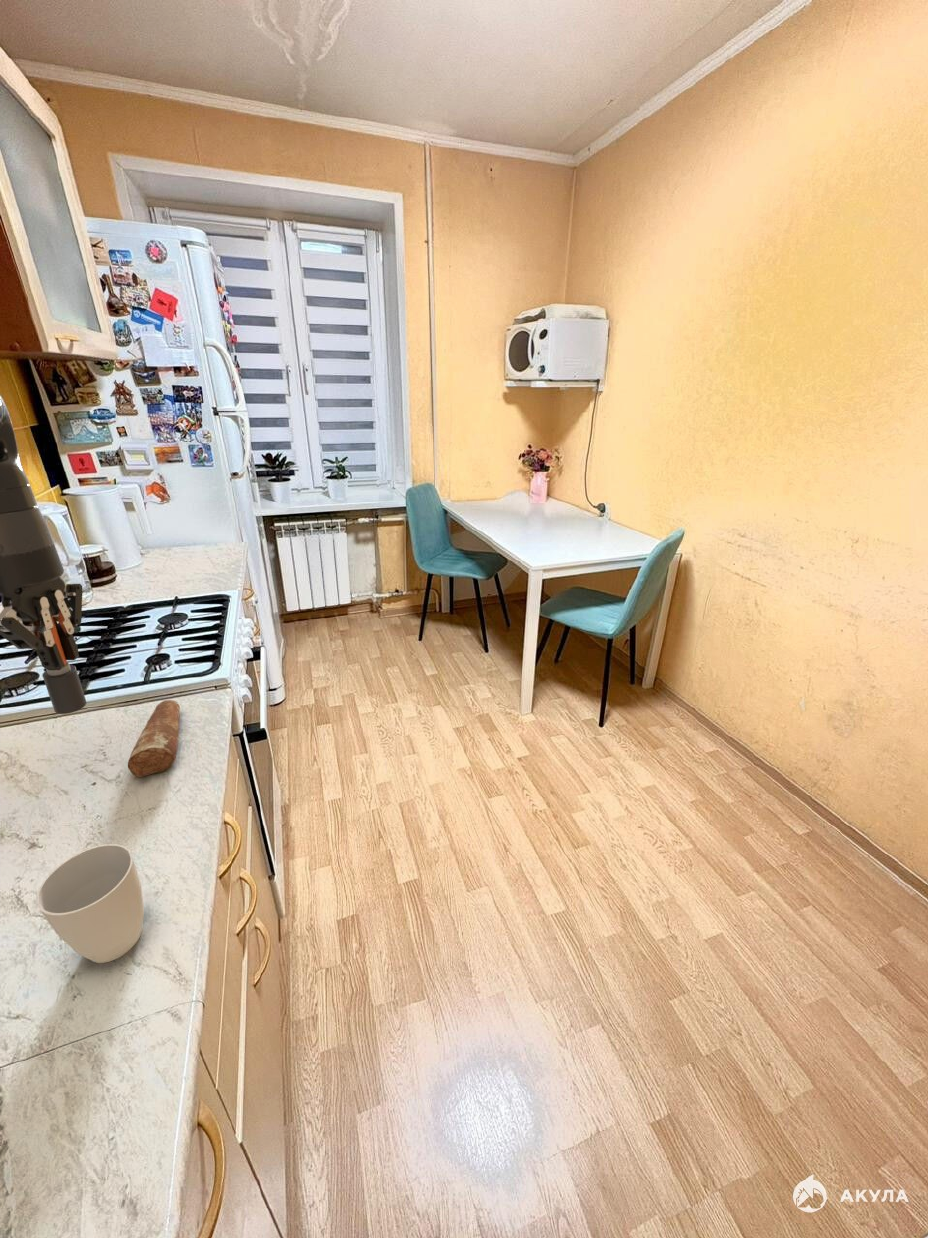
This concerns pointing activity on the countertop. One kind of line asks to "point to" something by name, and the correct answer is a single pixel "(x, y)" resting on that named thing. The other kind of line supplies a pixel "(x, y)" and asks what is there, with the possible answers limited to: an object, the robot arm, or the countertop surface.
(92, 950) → the cup
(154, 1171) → the countertop surface
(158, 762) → the bread
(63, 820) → the countertop surface
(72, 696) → the brush
